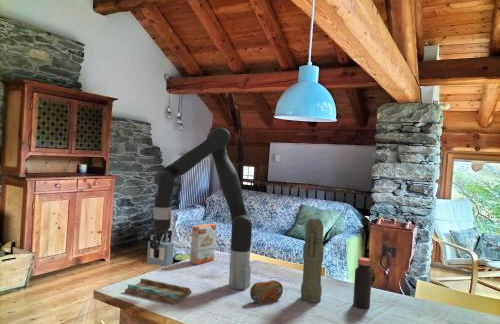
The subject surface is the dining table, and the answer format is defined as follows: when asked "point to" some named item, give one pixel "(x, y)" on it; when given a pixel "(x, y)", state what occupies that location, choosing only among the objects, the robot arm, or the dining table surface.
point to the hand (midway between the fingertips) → (160, 256)
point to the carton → (161, 254)
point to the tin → (266, 291)
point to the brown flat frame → (158, 291)
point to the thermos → (312, 262)
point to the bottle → (362, 284)
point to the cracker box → (202, 243)
